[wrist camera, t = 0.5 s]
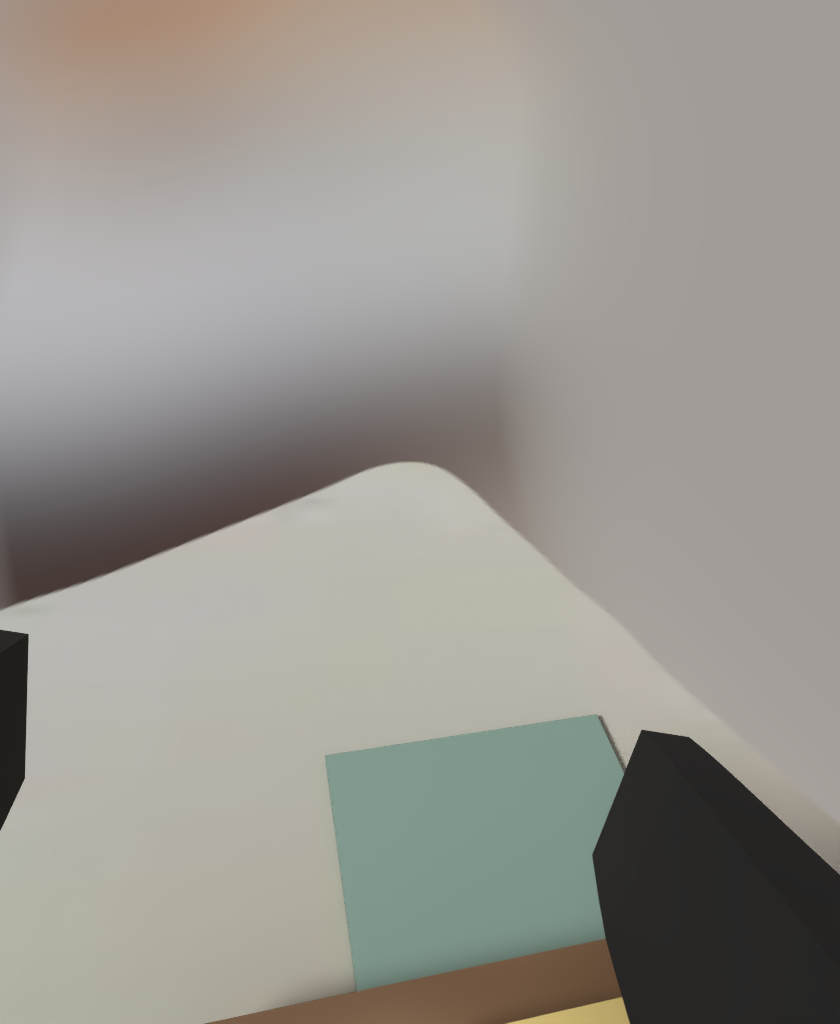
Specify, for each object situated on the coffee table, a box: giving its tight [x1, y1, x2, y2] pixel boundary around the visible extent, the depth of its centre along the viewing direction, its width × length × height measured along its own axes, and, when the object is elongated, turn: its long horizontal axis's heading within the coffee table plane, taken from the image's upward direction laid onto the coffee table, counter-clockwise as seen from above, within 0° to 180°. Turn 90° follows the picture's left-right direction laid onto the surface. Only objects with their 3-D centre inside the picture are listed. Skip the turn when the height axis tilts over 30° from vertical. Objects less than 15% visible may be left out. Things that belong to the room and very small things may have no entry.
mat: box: [325, 714, 624, 991], centre depth 27 cm, size 9×11×1 cm
